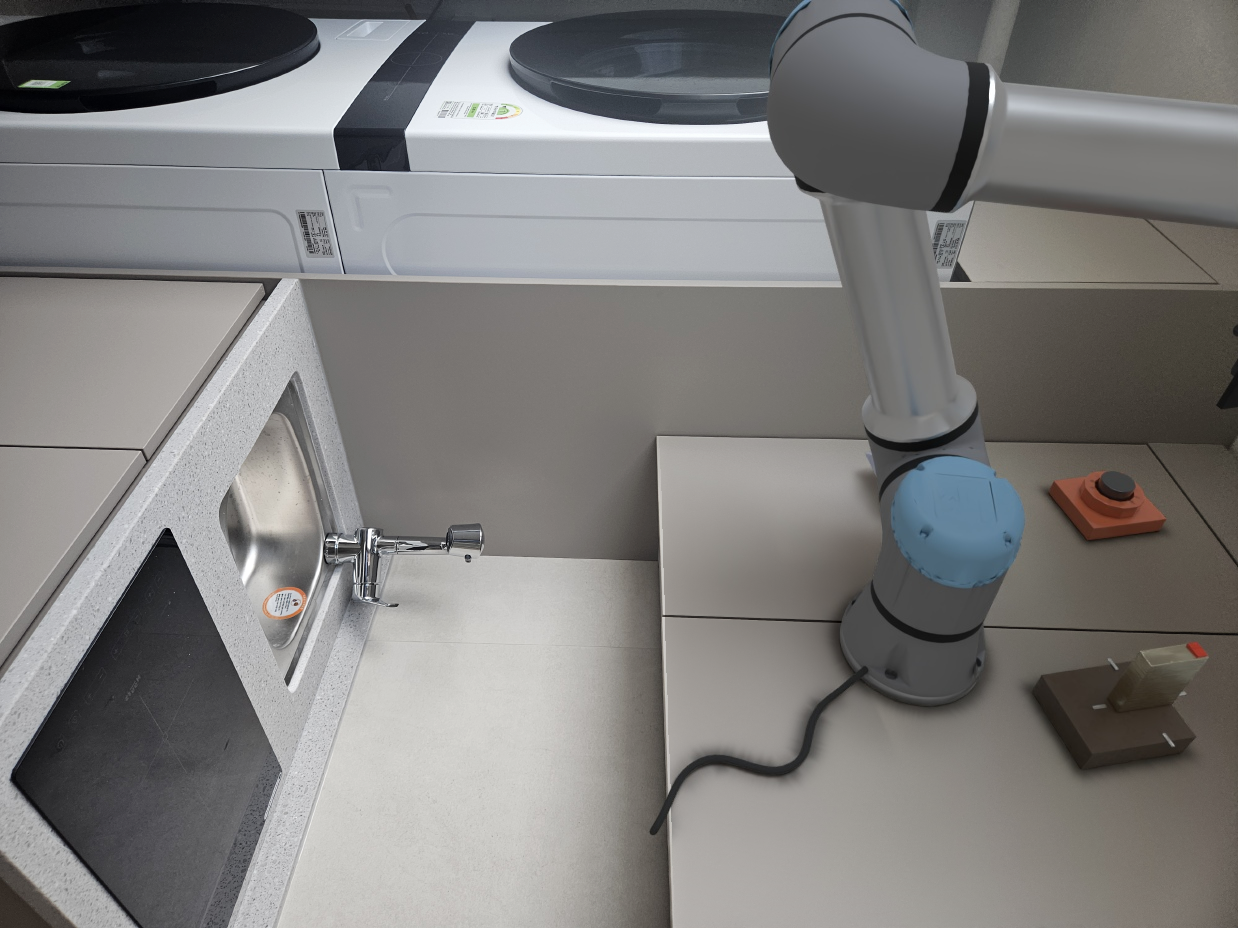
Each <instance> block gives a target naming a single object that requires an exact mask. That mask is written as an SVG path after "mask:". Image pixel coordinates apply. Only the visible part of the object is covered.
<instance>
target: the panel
mask: <svg viewBox="0 0 1238 928" xmlns="http://www.w3.org/2000/svg"><path fill="white" fill-rule="evenodd" d="M1106 660H1107V662H1108V663H1109V664H1104V665H1098V666H1091V667H1090V666H1089V667H1084V668H1078V669H1071V670H1065V671H1058V672H1052V673H1044V674H1041V675H1040V676H1039V678H1038V680H1037V682H1036V683H1035V685H1034V687H1033V689H1032V693H1033V695H1034V697H1035V698H1036V699H1037V701H1038V703H1039V704H1040V706H1041V708H1042V709H1043V711H1044V713H1045V715H1046V716H1047V717H1048V719H1049V720H1050V722H1051V724H1052V725H1053V727H1054V728H1055V730H1056V732H1057V734H1058V735H1059V736H1060V738H1061V741H1063V743H1064V745H1065V746H1066V748H1067V749H1068V751H1069V752H1070V754H1071V756H1072V758H1073V759H1074V760H1075V762H1076V763H1077V765H1078V767H1079V768H1080V770H1086V769H1091V768H1093V769H1094V768H1097V767H1104V766H1110V765H1117V764H1121V763H1127V762H1134V761H1139V760H1145V759H1152V758H1157V757H1164V756H1169V755H1176V754H1181V753H1182V754H1183V753H1184V751H1185V750H1186V749H1188V747H1189V746H1190V745H1191V744H1192V743H1193V741H1194V740H1195V739H1196V738H1197V735H1196V734H1195V733H1194V731H1193V730H1192V729H1191V727H1190V726H1189V725H1188V724H1187V722H1186V721H1185V720H1184V718H1183V717H1182V716H1181V715H1180V713H1179V712H1178V710H1177V709H1176V708H1175V707H1174V705H1173V703H1172V704H1168V705H1162V706H1156V707H1150V708H1143V709H1137V710H1131V711H1125V712H1117V711H1116V709H1115V708H1114V707H1113V705H1112V704H1111V702H1110V701H1109V699H1108V698H1107V697H1108V696H1109V694H1110V693H1111V691H1112V690H1113V688H1114V687H1115V685H1116V684H1117V683H1118V681H1119V680H1120V678H1121V677H1122V675H1123V674H1124V672H1125V671H1126V670H1127V668H1128V667H1129V665H1130V664H1131V662H1132V661H1133V660H1129V661H1123V662H1117V663H1115V662H1114V661H1113V659H1112V658H1111V657H1109V658H1108V657H1107V659H1106ZM1184 696H1187V692H1186V691H1182V692H1181V693H1180V695H1179V696H1178V697H1184Z"/></svg>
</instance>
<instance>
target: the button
mask: <svg viewBox="0 0 1238 928" xmlns="http://www.w3.org/2000/svg"><path fill="white" fill-rule="evenodd" d="M1106 471H1107V470H1106ZM1121 472H1122V471H1116V470H1108V471H1107V472H1105V473H1103V474H1102V475H1101V477H1100V479H1099V481H1098V483H1097V485H1096V488H1097V491H1098V492H1099V493H1100V494H1101V495H1103V496H1105V497H1107V498H1108V499H1110V500H1115V501H1119V502H1123V501H1127V500H1128V499H1130V497H1131V495H1132V493H1133V492H1134V490H1135V488H1136V484H1135V482H1136V481H1135V480H1134V479H1133V478H1132V477H1130V476H1129V475H1127V474H1126V473H1124V472H1123V473H1124V474H1123V473H1121ZM1134 481H1135V482H1134Z"/></svg>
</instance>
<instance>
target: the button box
mask: <svg viewBox="0 0 1238 928" xmlns="http://www.w3.org/2000/svg"><path fill="white" fill-rule="evenodd" d="M1105 472H1107V470H1101V471H1092V472H1090V473H1089V474H1088V475H1087V476H1080V477H1071V478H1064V479H1055V480H1053V482H1052V484H1051V486H1050V488H1049V491H1048V494H1049V495H1050V496H1051V498H1052V499H1053V501H1055V502H1056V504H1057V505H1058V506H1059V507H1060V508H1061V510H1062V511H1063V512H1064V514H1065V515H1066V516H1067V517H1068V518H1069V520H1070V521H1071V522H1072V523H1073V524H1074V526H1075V527H1076V528H1077V530H1078V531H1079V532H1080V533H1081V534H1082V536H1083V537H1084V538H1085V539H1086V540H1087V541H1093V540H1101V539H1109V538H1115V537H1123V536H1130V535H1137V534H1144V533H1152V532H1159V531H1161V529H1162V528H1163V526H1164V524H1165V523H1166V521H1167V517H1166V515H1164V514H1163V513H1162V512H1161V511H1160V510H1159V509H1158V507H1156V506H1155V505H1154V503H1153V502H1152V501H1151V500H1150V499H1149V498H1148V497H1147V496H1146V495H1145V492H1144V490H1143V488H1142V487H1141V486H1140V485H1139V484H1138V483H1137V482H1136V481H1135V480H1134V482H1135V484H1136V488H1135V490H1134V492H1133V493H1132V495H1131V497H1130V499H1128V500H1127V501H1123V502H1119V501H1115V500H1110V499H1108V498H1107V497H1105V496H1103V495H1101V494H1100V493H1099V492H1098V491H1097V488H1096V485H1097V483H1098V481H1099V479H1100V477H1101V475H1102V474H1103V473H1105ZM1120 472H1121V473H1123V474H1125V473H1124V471H1120Z"/></svg>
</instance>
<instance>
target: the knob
mask: <svg viewBox="0 0 1238 928" xmlns="http://www.w3.org/2000/svg"><path fill="white" fill-rule="evenodd" d="M1209 658H1210V657H1209V654H1208V653H1207V652H1206V651H1205V649H1204V648H1203V647H1202V646H1201V645H1200V644H1199V643H1198V642H1197V641H1194V642H1188V643H1182V644H1177V645H1176V644H1175V645H1169V646H1162V647H1156V648H1150V649H1143V650H1142V649H1141V650H1139V651H1138V652H1137V654H1136V655H1135V656H1134V658H1133V660H1131V661H1132V662H1131V664H1130V665H1129V667H1128V668H1127V670H1126V671H1125V672H1124V674H1123V675H1122V677H1121V678H1120V680H1119V681H1118V683H1117V684H1116V685H1115V687H1114V688H1113V690H1112V691H1111V693H1110V694H1109V696H1108V697H1107V698H1108V699H1109V701H1110V702H1111V704H1112V705H1113V707H1114V708H1115V709H1116V711H1117V712H1125V711H1131V710H1137V709H1143V708H1150V707H1156V706H1162V705H1168V704H1172V705H1173V703H1174V702H1175V701H1176V699H1178V697H1180V696H1179V695H1180V693H1181V692H1184V690H1185V688H1187V686H1188V685H1189V684H1190V682H1191V681H1192V680H1193V678H1195V676H1196V675H1197V673H1198V672H1199V671H1200V670H1201V669H1202V667H1203V666H1204V665H1205V663H1206V662H1207V661H1208V659H1209Z"/></svg>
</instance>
